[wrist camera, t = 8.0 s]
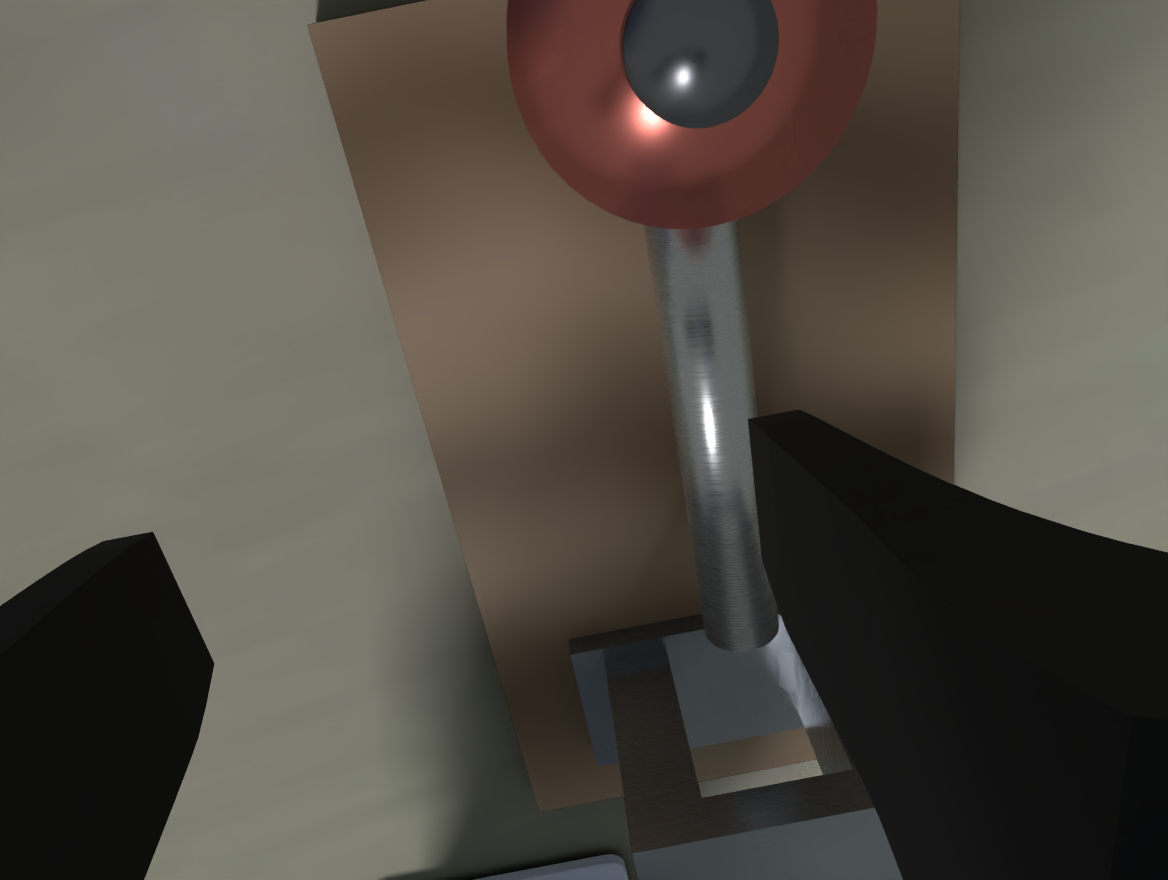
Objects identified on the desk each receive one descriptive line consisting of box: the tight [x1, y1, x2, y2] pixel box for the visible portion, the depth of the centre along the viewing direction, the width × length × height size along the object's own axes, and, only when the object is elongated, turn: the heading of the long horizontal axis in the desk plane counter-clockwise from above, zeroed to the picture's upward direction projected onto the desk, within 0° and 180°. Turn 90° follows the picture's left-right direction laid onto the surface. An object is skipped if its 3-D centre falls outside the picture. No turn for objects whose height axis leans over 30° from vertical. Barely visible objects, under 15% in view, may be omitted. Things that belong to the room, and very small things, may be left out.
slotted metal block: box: [569, 606, 903, 880], centre depth 22 cm, size 4×8×6 cm, turn 100°
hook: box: [506, 0, 877, 652], centre depth 16 cm, size 14×5×6 cm, turn 10°
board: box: [307, 0, 960, 812], centre depth 22 cm, size 21×12×1 cm, turn 10°
